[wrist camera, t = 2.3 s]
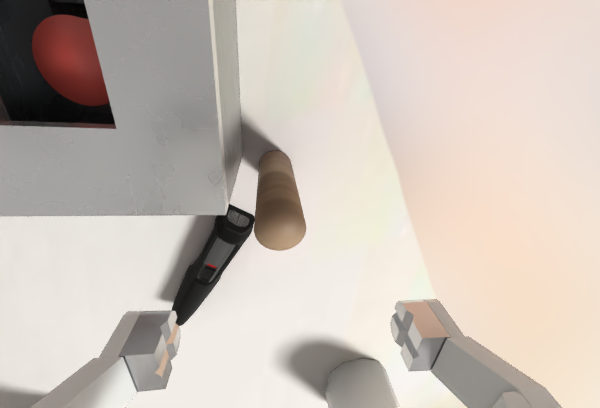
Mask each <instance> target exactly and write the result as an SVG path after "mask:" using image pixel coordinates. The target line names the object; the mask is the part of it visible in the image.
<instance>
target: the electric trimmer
mask: <svg viewBox="0 0 600 408" xmlns="http://www.w3.org/2000/svg"><path fill="white" fill-rule="evenodd" d="M254 221H255V218H254V216H253V215H251V214H249V213H247V212H245V211H243V210H241V209H239V208H237V207H235V206H232V205H230V204H229V206H228V209H227V213H226V215H217V217H216V220H215V224H214V229H213V231H212V233H211V235H210V237H209V239H208V241H207V243H206V245H205V247H204V249H203V250H202V252H201V254H200V256H199V257H198V259H197V260H196V262H195V263H194V264H192V265H190V266H189V268H188V270H187V272H186V274H185V277H184V279H183V281H182V284H181V286H180V289H179V291H178V294H177V296H176V299H175V301H174V304H173V307H172V311H175V312H176V315H177V319H176V322H175V323H176V324H177V325H178V326H181V325H183V324H184V323H185V322H186V321H187V320H188V319H189V318H190V317H191V316H192V315H193V313H194V312H195V311H196V310H197V309H198V307H199V306H200V305H201V303H202V302H203V301H204V299H205V298H206V297H207V296H208V294H209V293H210V292H211V290H212V289H213V288H214V286H215V285H216V284H217V282H218V281H219V279H220V277H221V275H222V273H223V271H224V270H225V268H226V267H227V266H228V264H229V263H230V261H231V260H232V259H233V257H234V256H235V254H236V253H237V252H238V250H239V249H240V247H241V246H242V244H243V243H244V242H245V240H246V239H247V238H248V237H249V235H250V234H251V231H252V228H253V224H254Z"/></svg>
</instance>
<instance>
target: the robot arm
mask: <svg viewBox="0 0 600 408" xmlns="http://www.w3.org/2000/svg"><path fill="white" fill-rule="evenodd" d="M395 309H396V311H397V312H396V313H395V314H394V315H393V316H392V319H391V331H392V335H393V338H394V340H395V342H396V343H397V344H398V345H400V346H401V347H402V349H401V356H402V358H403V360H404V362H405V364H406V367H407V369H408V371H427V370H432V371H431V372H432V373H433V374H434V375H435V376H436V377H437V378H438V379H439V380H440V381H441V382H442V383H443V384H444V385H445V386H446V387H447V388H448V389H449V390H450V391H451V392H452V393H453V394H454V395H455V396H456V397H457V398H458V399H459V400H460V401H461V402H462V403H463V404H464V405H465V406H467V407H468V408H561V406H560V405H559V404H558V402H557V401H556V400H555V399H554V398H553V396H552V395H551V394H550V393H549V392H548V391H547V389H546V388H545V387H543V386H541V385H540V384H539V383H537V382H536V381H534V380H533V379H531V378H530V377H528V376H527V375H525V374H524V373H522V372H521V371H519V370H518V369H516V368H515V367H513V366H512V365H510V364H509V363H507V362H506V361H504V360H503V359H501V358H500V357H498V356H497V355H495V354H494V353H492V352H491V351H490V350H488V349H486V348H485V347H484V346H482V345H481V344H479V343H478V342H476V341H475V340H473V339H472V338H470V337H465V336H464V335H463V333H462V332H461V331H460V329H459V328H458V326H457V325H456V324H455V322H454V321H453V319H452V318H451V317H450V315H449V314H448V312H447V311H446V310H445V308H444V307H443V305H442V304H441V303H440V301H438V300H437V299H432V300H407V301H398V302H397V303H396V306H395ZM176 319H177V315H176V312H175V311H130V312H127V313H126V314H125V315H124V316H123V317H122V319H121V320H120V322H119V324H118V326H117V327H116V329H115V331H114V332H113V334H112V336H111V338H110V339H109V341H108V343H107V344H106V346H105V348H104V350H103V351H102V353H101V355H100V356H99V358H93V359H92V360H91V361H90V362H88V363H87V364H86V365H84V366H83V367H82V368H81V369H79V370H78V371H77V372H75V373H74V374H73V375H71V376H70V377H69V378H68V379H66V380H65V381H64V382H62V383H61V384H60V385H59V386H57V387H56V388H55V389H53V390H52V391H51V392H50V393H48V394H47V395H46V396H44V397H43V398H42V399H41V400H39V401H38V402H37V403H35V404H34V405H33V406H32V407H30V408H125V407H126V406H127V405H128V404H129V403H130V401H131V400H132V399H133V398H134V397H135V396H136V395H137V392H139V391H149V390H159V389H166V386H167V383H168V380H169V376H170V373H171V370H172V365H171V360H172V359H173V358H174V357H175V356H176V355H177V351H178V348H179V343H180V328H179V326H178V325H177V324H176V323H175V322H176Z"/></svg>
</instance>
